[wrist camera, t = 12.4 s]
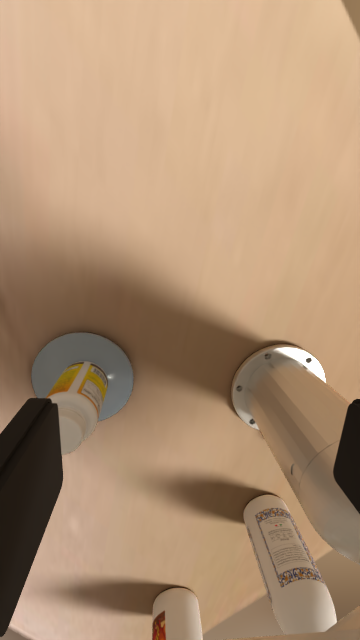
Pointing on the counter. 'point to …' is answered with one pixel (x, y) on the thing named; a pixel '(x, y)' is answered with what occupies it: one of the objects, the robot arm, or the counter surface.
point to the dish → (91, 350)
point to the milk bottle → (176, 616)
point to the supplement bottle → (78, 402)
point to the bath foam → (287, 568)
